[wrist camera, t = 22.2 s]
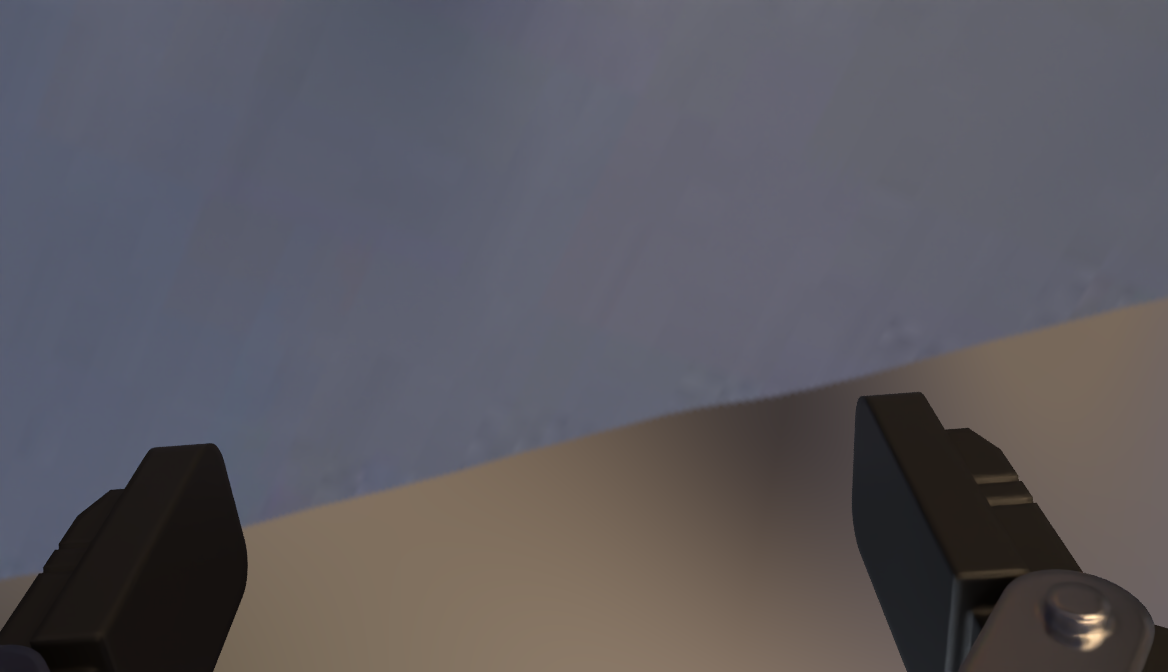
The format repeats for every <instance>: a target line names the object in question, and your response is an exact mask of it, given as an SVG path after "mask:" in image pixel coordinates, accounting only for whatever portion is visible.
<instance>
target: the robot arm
mask: <svg viewBox="0 0 1168 672" xmlns="http://www.w3.org/2000/svg"><path fill="white" fill-rule="evenodd" d="M853 463H854V464H853V486H852V487H853V488H852V515H853V524H854V531H855V536H856V540H857V544H858V548H859V551H860V554H861V556H862V559H863V561H864V564H865V566H866V569H867V572H868V574H869V576H870V579H871V582H872V584H873V586H874V589H875V592H876V594H877V597H878V599H879V602H880V604H881V607H882V609H883V612H884V615H885V617H886V620H887V622H888V625H889V627H890V630H891V632H892V635H893V637H894V640H895V642H896V645H897V647H898V650H899V653H900V655H901V658H902V660H903V663H904V665H905V668H906V670H907V672H1168V628H1164V627H1161V626H1157V625H1154V622H1153V620H1152V617H1151V615H1150V614H1149V612H1148V611H1147V609H1146V608H1145V606H1144V605H1143V604H1142V603H1141V602H1140V601H1139V600H1138V599H1137V598H1136V597H1134V596H1133V595H1132V594H1131V593H1129V592H1128V591H1126V590H1125V589H1123V588H1122V587H1120V586H1118V585H1116V584H1114V583H1112V582H1110V581H1108V580H1106V579H1102V578H1100V577H1097V576H1094V575H1091V574H1087V573H1083V572H1082V570H1081V569H1080V567H1079V566H1078V564H1077V563H1076V561H1075V560H1074V558H1073V557H1072V555H1071V554H1070V552H1069V551H1068V549H1067V548H1066V546H1065V545H1064V543H1063V542H1062V540H1061V539H1060V537H1059V536H1058V534H1057V533H1056V531H1055V530H1054V528H1053V527H1052V525H1051V524H1050V522H1049V521H1048V520H1047V518H1046V517H1045V515H1044V513H1043V512H1042V511H1041V509H1040V508H1039V506H1038V504H1037V503H1033V497H1032V496H1031V494H1030V493H1029V491H1028V490H1027V488H1026V487H1025V485H1024V484H1023V482H1022V481H1019V479H1018V475H1017V473H1016V472H1015V470H1014V469H1013V467H1012V466H1011V464H1010V463H1009V461H1008V460H1007V458H1006V457H1005V455H1004V454H1003V452H1002V451H1001V450H1000V449H999V448H997V447H996V446H995V445H993V444H992V443H990V442H989V441H987V440H986V439H984V438H983V437H981V436H980V435H978V434H977V433H975V432H974V431H972V430H970V429H969V428H961V429H948V430H945V429H944V427H943V426H942V424H941V423H940V421H939V419H938V417H937V416H936V414H935V413H934V411H933V409H932V408H931V406H930V404H929V403H928V401H927V399H926V398H925V396H924V395H923V394H922V393H921V392H912V393H898V394H885V395H873V396H861V397H860V398H859V399H858V402H857V406H856V415H855V438H854V462H853ZM247 568H248V562H247V550H246V544H245V539H244V536H243V532H242V528H241V524H240V520H239V517H238V513H237V509H236V505H235V501H234V498H233V494H232V490H231V486H230V482H229V479H228V475H227V471H226V467H225V463H224V460H223V457H222V454H221V452H220V450H219V449H218V447H217V446H216V445H214V444H212V443H208V444H195V445H182V446H168V447H155V448H152V449H150V450H149V451H148V453H147V454H146V455H145V457H144V459H143V460H142V462H141V463H140V465H139V467H138V468H137V470H136V471H135V473H134V475H133V476H132V478H131V479H130V481H129V483H128V484H127V486H126V487H125V489H116V490H110V491H109V492H107V493H106V494H105V495H103V496H102V497H101V498H100V499H98V500H97V501H96V502H95V503H93V504H92V505H91V506H89V507H88V508H87V509H86V510H84V511H83V512H82V513H81V514H79V515H78V516H77V517H76V519H75V520H74V522H73V523H72V525H71V526H70V528H69V529H68V531H67V532H66V534H65V535H64V537H63V538H62V540H61V541H60V543H59V550H54V552H53V553H52V555H51V556H50V558H49V559H48V561H47V562H46V564H45V565H44V567H43V573H39V574H38V576H37V577H36V579H35V580H34V582H33V584H32V585H31V587H30V588H29V589H28V591H27V592H26V594H25V596H24V597H23V598H22V600H21V601H20V603H19V604H18V606H17V608H16V609H15V611H14V612H13V614H12V615H11V616H10V618H9V620H8V621H7V622H6V624H5V626H4V627H3V629H2V630H1V631H0V672H213V670H214V668H215V665H216V663H217V660H218V658H219V655H220V653H221V650H222V647H223V645H224V642H225V640H226V637H227V635H228V632H229V630H230V627H231V625H232V622H233V619H234V617H235V615H236V612H237V610H238V607H239V604H240V602H241V599H242V597H243V594H244V590H245V586H246V581H247Z"/></svg>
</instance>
